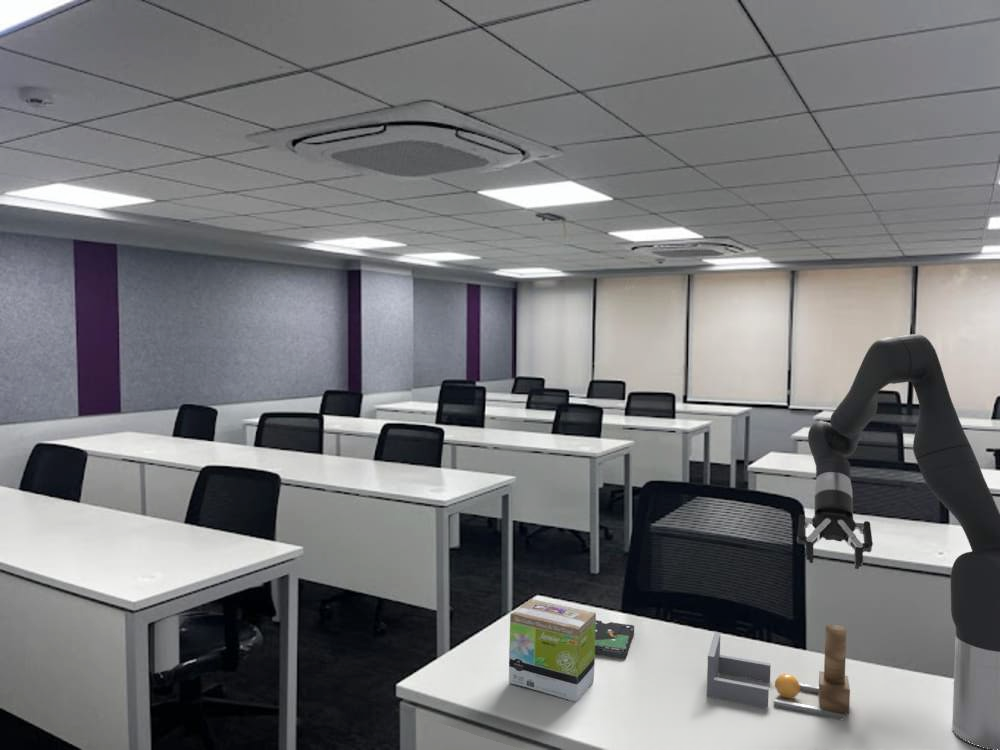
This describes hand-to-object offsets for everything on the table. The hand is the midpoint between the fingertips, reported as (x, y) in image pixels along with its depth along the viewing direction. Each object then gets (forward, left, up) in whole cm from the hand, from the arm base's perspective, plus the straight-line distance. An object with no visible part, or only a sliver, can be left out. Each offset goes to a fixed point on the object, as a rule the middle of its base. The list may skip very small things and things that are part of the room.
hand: (834, 564), depth 144 cm
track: (+10, +8, -24) cm, 27 cm away
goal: (+20, +2, -24) cm, 31 cm away
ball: (+13, +6, -22) cm, 26 cm away
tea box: (+58, -4, -24) cm, 63 cm away
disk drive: (+41, -22, -25) cm, 53 cm away
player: (+6, +10, -24) cm, 27 cm away
